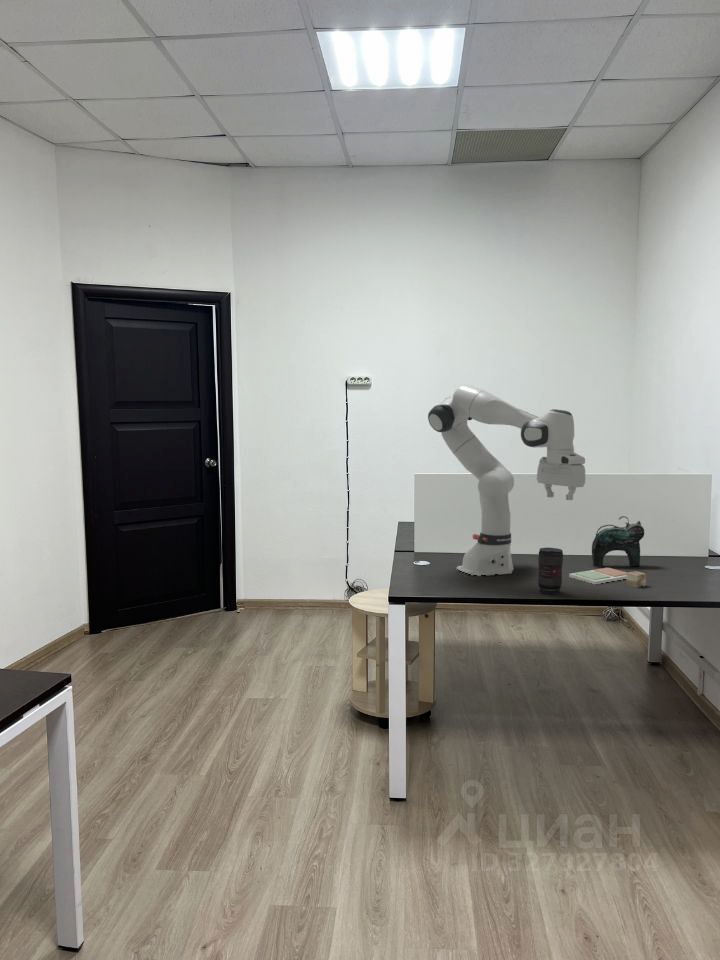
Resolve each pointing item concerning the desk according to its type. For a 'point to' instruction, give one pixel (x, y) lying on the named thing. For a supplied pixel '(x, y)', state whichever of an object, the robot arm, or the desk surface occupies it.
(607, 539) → the ceramic cat
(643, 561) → the desk surface
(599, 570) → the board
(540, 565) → the camera lens
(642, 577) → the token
